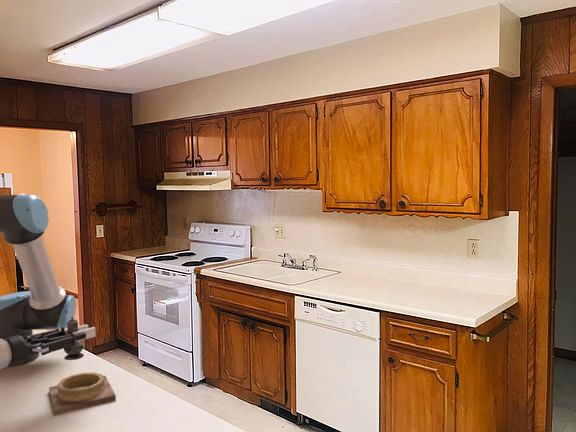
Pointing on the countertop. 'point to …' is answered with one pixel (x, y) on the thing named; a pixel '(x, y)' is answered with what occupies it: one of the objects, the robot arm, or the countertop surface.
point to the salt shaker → (75, 350)
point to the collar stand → (80, 392)
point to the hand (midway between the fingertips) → (91, 330)
